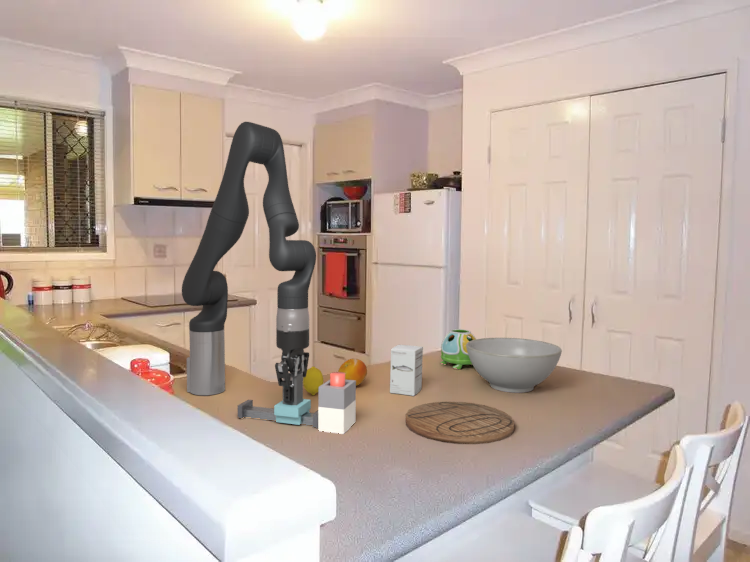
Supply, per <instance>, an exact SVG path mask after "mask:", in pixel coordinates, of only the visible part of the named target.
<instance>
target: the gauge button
mask: <svg viewBox="0 0 750 562" xmlns="http://www.w3.org/2000/svg"><path fill="white" fill-rule="evenodd" d="M329 380H330V386H338V387H344V386H345V373H343V372H338V371H333V372H330V373H329Z"/></svg>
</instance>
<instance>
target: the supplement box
mask: <svg viewBox="0 0 750 562" xmlns="http://www.w3.org/2000/svg"><path fill="white" fill-rule="evenodd" d="M423 353H424V346H417V345H410V344H409V345H408V344H397V345H395V346H393V347H392V348H391V349H390V374H389V375H390V376H389V377H390V378H389V379H390V381H389V393H390V394H397V395H405V396H412V397H415V396H416V395H417V394H418V393H420V391H422V386H423V385H422V382H423V379H422V378H423V357H424V356H423Z"/></svg>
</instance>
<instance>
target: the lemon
mask: <svg viewBox="0 0 750 562" xmlns="http://www.w3.org/2000/svg"><path fill="white" fill-rule="evenodd" d="M322 384H324V375H323V372H322V371H321V370H320V369H319V368H318V367H315V366H311V367H309V368H307V374H306V377H303V389H304V390H305V391H306V392H307V393H309V394H311V396H315V395H317V394H318V393H319V386H321V385H322Z"/></svg>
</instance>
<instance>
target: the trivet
mask: <svg viewBox="0 0 750 562" xmlns="http://www.w3.org/2000/svg"><path fill="white" fill-rule="evenodd" d="M405 426H406V427H407V429H409V431H411V432H413V433H414V434H415V435H417V436H420V437H422V438H425V439H428V440H432V441H436V442H441V443H447V444H456V445H483V444H484V445H485V444H491V443H494V442H500V441H502V440H505V439H507V438H510V436H511V435H512V434H514V431H515V430H514V429H515V420H514V419H513V417H512V416H511V415H510V414H508V413H506V412H505V411H503V410H500V409H499V408H496V407H492V406H489V405H485V404H480V403H479V404H478V403H474V402H463V401H434V402H429V403H423V404H420V405H416V406H414V407H412V408H410V409H408V410H407V412H406V413H405Z"/></svg>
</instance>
